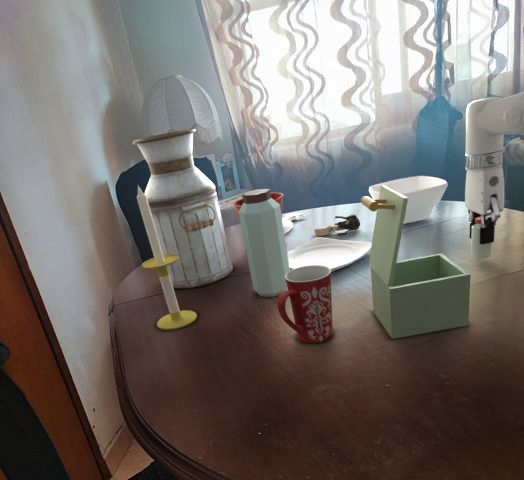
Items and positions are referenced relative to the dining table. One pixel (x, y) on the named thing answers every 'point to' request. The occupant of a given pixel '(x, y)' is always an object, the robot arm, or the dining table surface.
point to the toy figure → (339, 226)
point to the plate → (327, 253)
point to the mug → (308, 302)
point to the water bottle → (264, 242)
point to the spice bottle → (476, 248)
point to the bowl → (415, 194)
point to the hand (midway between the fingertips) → (481, 239)
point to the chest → (422, 296)
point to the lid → (386, 231)
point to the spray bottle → (289, 221)
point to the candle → (163, 272)
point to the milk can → (185, 211)
